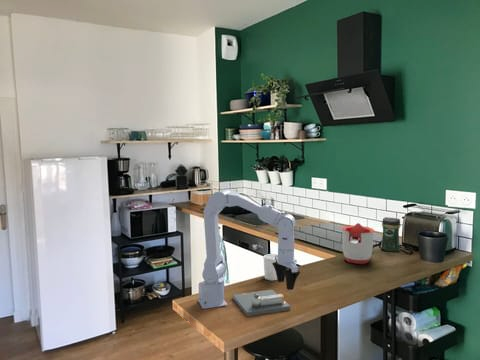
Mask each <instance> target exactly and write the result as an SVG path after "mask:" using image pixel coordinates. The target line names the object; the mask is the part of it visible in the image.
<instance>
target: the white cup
mask: <svg viewBox="0 0 480 360" xmlns="http://www.w3.org/2000/svg"><path fill="white" fill-rule="evenodd" d="M275 255H278V253H277V254H276V253H269V254H265V255H263V271H264V279H265V280H268V281H278V280H277V275H276V271H275V268H274V266H273V264H272V263H273V262H276V261H275Z"/></svg>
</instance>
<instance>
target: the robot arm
mask: <svg viewBox="0 0 480 360" xmlns="http://www.w3.org/2000/svg"><path fill="white" fill-rule="evenodd" d="M226 207H228V208H230V207H239V208H243V209H244V210H247V211H248V212H249V211H250V212H251V213H253V214H256V215H257V217H258V219H259V220H261V221H262V222H265V223H267V224H269V225H270V226H272V227H275V228H276V229H277V230H278V235H277V255H275V261H276V262H273V263H272V264H273V266H274V268H275V271H276V275H277V280H276V281H277V282H278V283H284V282H285V285H286V290H287V291H290V290H294V288H295V285H296V284H295V283H296V281H297V279H298V276H299V275H300V273H301V271H300V270H299V267H298V266H297V264H296V263H297V259H295V229H294V228H295V226H296V223H297V222H296V218H295V217H294V216H293V215H292V214H291V213H286V212H285V211H280V210H278V209H276V208H274V206H273V205H272V204H269V205H267V204H265V205H260V204H259V203H257V202H255V201H253V200H251V199H249V198H247V197H245V196H244V195H241V194H240V193H239V192H237V191H234V190H231V189H230V188H223V189H221V190H219V191H218V190H217V191H215V192H213V193H212V194H211V195H210V196H209V197H208V200H207V202H206V204H205V207H204V208H203V226H204V237H205V239H204V240H205V252H206V253H205V255H206V258H205V260H204V263H203V271H202V273H201V275H202V276H201V277H202V279H203V280H204V281H201V282H199V283H198V300H197V301H198V303H199V305H200V306H201V308H202V309H204V310H206V309H212V308H219V307H227V306H228V303H227V302H226V300H225V292H224V291H225V290H224V289H225V279H224V278H225V277H224V275H225V274H226V271H227V267H226V264H225V262H224V257H223V256H222V255H221V243H220V241H221V240H220V227H219V226H220V225H219V214H220V213H221V212H222V211H223V210H224V209H225V208H226Z"/></svg>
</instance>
